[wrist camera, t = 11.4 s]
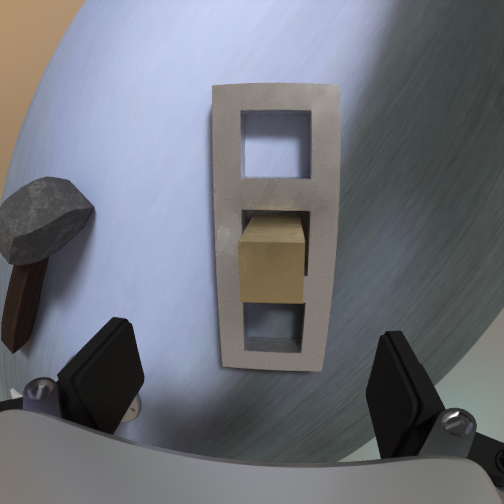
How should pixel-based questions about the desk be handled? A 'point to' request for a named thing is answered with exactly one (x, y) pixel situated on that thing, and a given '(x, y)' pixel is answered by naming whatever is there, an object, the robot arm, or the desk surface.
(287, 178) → the white flat frame
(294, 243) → the brass peg
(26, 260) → the hammer
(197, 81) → the desk surface
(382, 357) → the robot arm
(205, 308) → the desk surface
